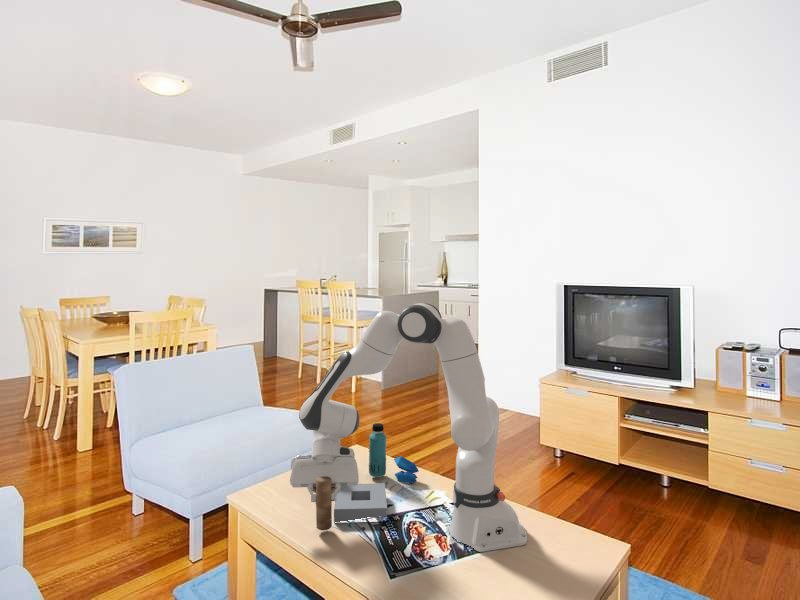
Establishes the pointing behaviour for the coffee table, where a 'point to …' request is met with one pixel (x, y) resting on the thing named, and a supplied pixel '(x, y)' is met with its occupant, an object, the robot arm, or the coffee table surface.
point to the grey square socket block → (360, 502)
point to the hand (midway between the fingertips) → (323, 501)
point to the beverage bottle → (377, 451)
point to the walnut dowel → (323, 503)
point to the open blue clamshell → (407, 466)
